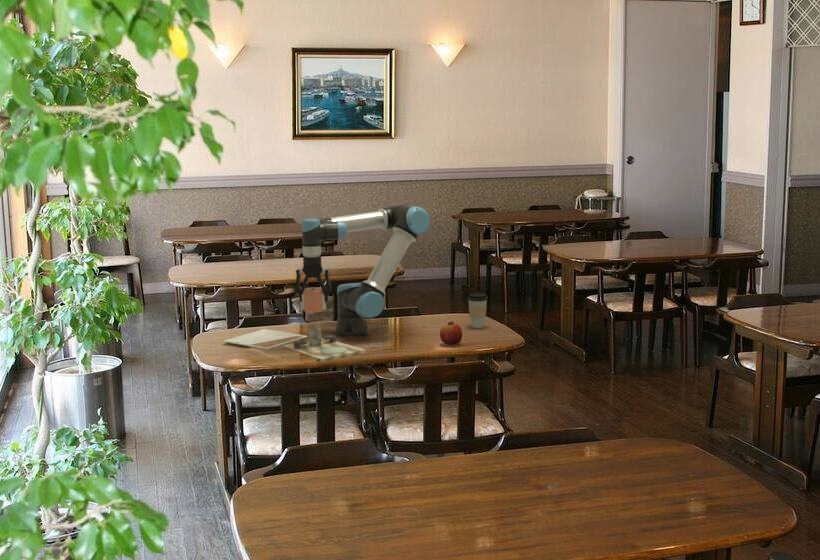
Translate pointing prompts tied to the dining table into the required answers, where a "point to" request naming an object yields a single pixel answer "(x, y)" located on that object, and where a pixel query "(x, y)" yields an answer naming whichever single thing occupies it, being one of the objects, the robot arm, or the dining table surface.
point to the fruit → (451, 333)
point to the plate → (262, 338)
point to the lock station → (322, 346)
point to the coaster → (333, 350)
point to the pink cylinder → (313, 299)
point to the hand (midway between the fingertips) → (314, 309)
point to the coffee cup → (477, 309)
